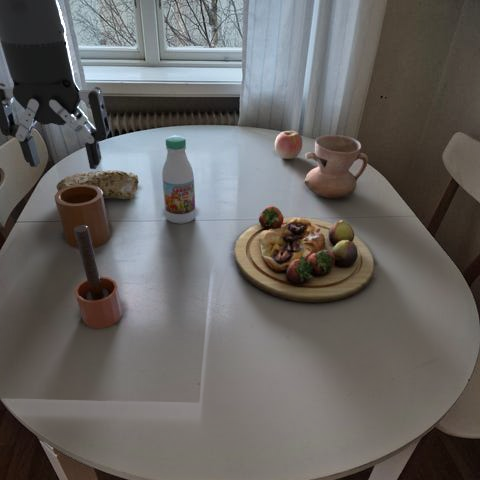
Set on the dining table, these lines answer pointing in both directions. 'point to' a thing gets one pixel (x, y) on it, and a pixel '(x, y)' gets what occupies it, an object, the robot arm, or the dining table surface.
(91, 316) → the cup
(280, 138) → the apple
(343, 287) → the wooden plate
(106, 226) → the jar
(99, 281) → the brush
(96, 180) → the seeded bread loaf
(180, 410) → the dining table surface
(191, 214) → the milk bottle
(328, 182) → the ceramic jug
